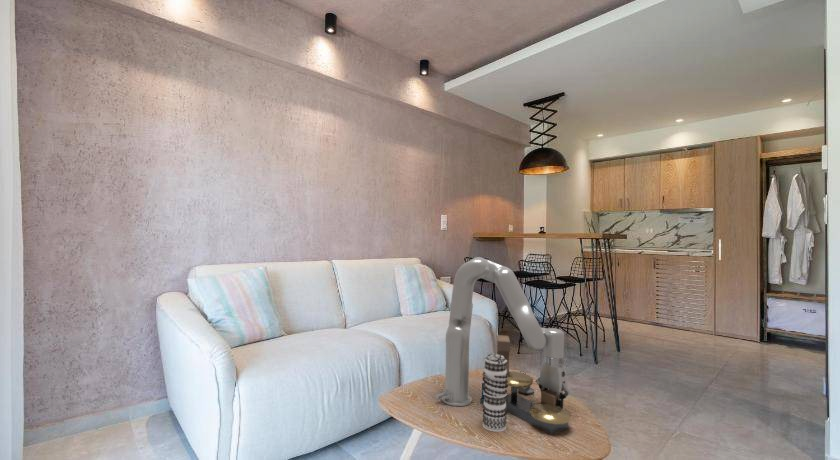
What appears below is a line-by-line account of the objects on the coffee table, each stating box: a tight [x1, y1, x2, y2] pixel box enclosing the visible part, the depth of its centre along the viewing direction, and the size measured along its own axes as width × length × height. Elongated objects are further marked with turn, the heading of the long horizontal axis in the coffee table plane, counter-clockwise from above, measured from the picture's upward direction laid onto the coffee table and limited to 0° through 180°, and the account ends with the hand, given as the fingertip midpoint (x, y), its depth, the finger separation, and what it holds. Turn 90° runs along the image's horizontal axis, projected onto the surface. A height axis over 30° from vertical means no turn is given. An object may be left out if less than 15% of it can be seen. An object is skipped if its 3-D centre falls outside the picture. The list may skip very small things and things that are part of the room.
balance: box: [506, 370, 572, 436], centre depth 145 cm, size 14×31×12 cm, turn 34°
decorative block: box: [496, 334, 511, 372], centre depth 181 cm, size 11×6×20 cm, turn 170°
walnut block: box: [540, 389, 561, 406], centre depth 152 cm, size 6×6×6 cm
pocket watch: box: [517, 370, 535, 395], centre depth 168 cm, size 8×8×10 cm
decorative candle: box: [481, 353, 509, 433], centre depth 137 cm, size 9×9×25 cm
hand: (552, 405), depth 152 cm, fingers closed on walnut block, 6 cm apart
